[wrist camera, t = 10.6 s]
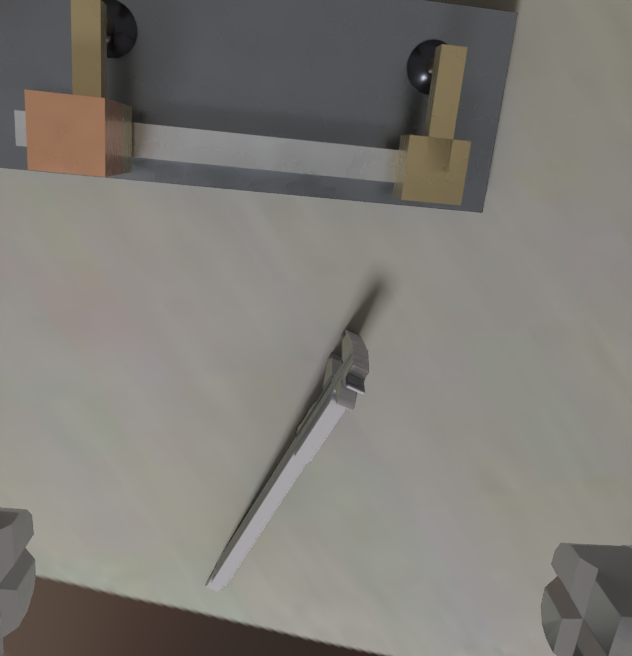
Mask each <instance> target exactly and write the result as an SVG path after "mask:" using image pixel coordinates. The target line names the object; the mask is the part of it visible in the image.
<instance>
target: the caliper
mask: <svg viewBox="0 0 632 656" xmlns="http://www.w3.org/2000/svg"><path fill="white" fill-rule="evenodd" d="M368 373H369V360H368V350H367V348H366V346H365V344H364V342H363V340H362V339H361V337H360V336H358V335H356V334H354V333H352V332H350V331H348V330H345V331H344V332H343V333H342V357H340V356H338V355H336V354H334V353H331V355H330V357H329V358H328V361H327V366H326V372H325V377H324V382H323V388H322V392H321V394H320V396H319V397H318V399H317V401H315V402H314V403H313V404H312V406H311V407H310V408H309V409H308V411H307V413H306V415H305V417H304V418H303V420H302V421H301V422H300V424H299V425H298V427H297V429H296V437H295V439H294V440H293V442H292V444H291V445H290V447H289V448H288V450H287V451H286V453H285V455H284V456H283V458H282V459H281V461H280V463H279V464H278V466H277V467H276V469H275V471H274V472H273V474H272V475H271V477H270V479H269V480H268V482H267V483H266V485H265V487H264V488H263V490H262V491H261V493H260V494H259V496H258V498H257V499H256V501H255V502H254V504H253V506H252V507H251V509H250V510H249V512H248V513H247V515H246V517H245V518H244V520H243V521H242V523H241V525H240V526H239V528H238V529H237V531H236V532H235V534H234V536H233V537H232V539H231V540H230V542H229V543H228V545H227V547H226V548H225V550H224V551H223V553H222V555H221V557H220V559H219V561H218V562H217V564H216V566H215V568H214V570H213V573H212V575H211V576H210V578H209V579H208V581H207V583H206V585H205V587H207V588H210V589H213V590H215V591H220V590H221V588H222V587H224V588H225V587H226V585H227V584H228V582H229V581H230V579H231V578H232V576H233V575H234V573H235V572H236V570H237V569H238V567H239V566H240V564H241V563H242V561H243V560H244V558H245V556H246V555H247V553H248V552H249V550H250V549H251V547H252V546H253V544H254V543H255V541H256V540H257V538H258V537H259V535H260V534H261V532H262V531H263V529H264V528H265V526H266V524H267V523H268V521H269V520H270V518H271V517H272V515H273V514H274V512H275V511H276V509H277V508H278V506H279V505H280V503H281V502H282V500H283V499H284V497H285V495H286V494H287V492H288V491H289V489H290V488H291V486H292V485H293V483H294V482H295V480H296V479H297V477H298V476H299V474H300V473H301V471H302V470H303V468H304V466H305V465H306V463H307V462H309V463H310V462H311V460H312V459H313V457H314V456H315V455H316V453H317V452H318V450H319V449H320V447H321V446H322V444H323V443H324V441H325V440H326V438H327V437H328V435H329V434H330V432H331V431H332V429H333V428H334V426H335V425H336V423H337V422H338V420H339V419H340V417H341V416H342V414H343V413H344V411H345V409H348V410H351V411H353V410H354V406H355V402H356V397H357V392H358V393H360V394H365V389H364V380H365V378H366V377H367V375H368Z"/></svg>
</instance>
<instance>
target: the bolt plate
mask: <svg viewBox="0 0 632 656" xmlns="http://www.w3.org/2000/svg"><path fill="white" fill-rule="evenodd" d="M102 1H103V2H104V3H105V4H106V6H107V17H109V18H110V19H111V20H112V21H113V23H114V27H115V28H114V32H113V33H112V34H111V35H109V36H107V99H109V100H112V101H116V102H119V103H122V104H125V105H128V106H132V172H129V173H124V174H119V175H113V176H108V177H105V178H116V179H127V180H138V181H148V182H159V183H170V184H180V185H191V186H202V187H213V188H223V189H234V190H245V191H255V192H266V193H277V194H288V195H298V196H309V197H320V198H330V199H341V200H352V201H363V202H373V203H384V204H395V205H405V206H416V207H427V208H438V209H448V210H459V211H470V212H480V213H482V212H483V206H484V201H485V195H486V189H487V184H488V178H489V172H490V167H491V161H492V156H493V150H494V144H495V139H496V133H497V127H498V122H499V116H500V110H501V105H502V99H503V93H504V88H505V82H506V76H507V71H508V65H509V59H510V54H511V48H512V42H513V37H514V31H515V25H516V20H517V14H518V13H516V12H509V11H501V10H494V9H486V8H479V7H471V6H464V5H457V4H449V3H442V2H434V1H427V0H102ZM24 89H25V90H34V91H44V92H53V93H62V94H71V95H73V88H72V39H71V0H0V168H9V169H20V170H28V164H27V140H26V117H25V93H24ZM30 171H35V170H30ZM41 172H46V171H41ZM52 173H57V172H52ZM63 174H67V173H63ZM73 175H78V174H73ZM84 176H89V175H84ZM95 177H99V176H95Z"/></svg>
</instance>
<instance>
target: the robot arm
mask: <svg viewBox="0 0 632 656" xmlns="http://www.w3.org/2000/svg"><path fill="white" fill-rule="evenodd" d="M33 535H34V531H33V520H32V515H31V514H30V512H29V511H28V510H25V509H13V508H1V507H0V656H2V655H3V639H2V638H3V637H4V636H6V635H7V634H9V633H10V632H12V631H13V630H15V629H16V628H17V627H19V625H20V623H21V621H22V619H23V617H24V615H25V614H26V612H27V609H28V606H29V603H30V600H31V597H32V593H33V590H34V582H35V574H36V572H35V559H34V558H33V556H32V555H31V554H30V553H29V552H28V550H27V549H26V548H25V547H26V545H27V544H28V542H29V541H30V539H31V538H32V536H33ZM551 565H552V567H553V569H554V571H555V573H556V574H557V577H556V578H555V579H554V580H553V581H551V582H550V583H549V584H548V585H547V586H546V587H545V589H544V594H543V598H542V603H541V616H542V626H543V629H544V633H545V636H546V639H547V641H548V643H549V645H550V647H551V649H552V651H553V653H554V654H556V655H557V656H632V545H622V546H612V545H593V544H574V543H560V544H559V546H558V547H557V549H556V550H555V552H554V556H553V559H552V563H551Z"/></svg>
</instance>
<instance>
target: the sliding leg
mask: <svg viewBox="0 0 632 656" xmlns="http://www.w3.org/2000/svg"><path fill="white" fill-rule="evenodd" d="M114 28H115V27H114V23H113V21H112V20H111V19H110V18H109V17H107V6H106V4H105V3H104V2H103V1H102V0H71V39H72V88H73V95H71V94H62V93H53V92H44V91H34V90H25V89H24V93H25V117H26V140H27V164H28V170H35V171H46V172H57V173H67V174H78V175H89V176H99V177H108V176H113V175H119V174H124V173H129V172H132V106H128V105H125V104H122V103H119V102H116V101H112V100H109V99H107V36H109V35H111V34H112V33H113V32H114Z"/></svg>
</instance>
